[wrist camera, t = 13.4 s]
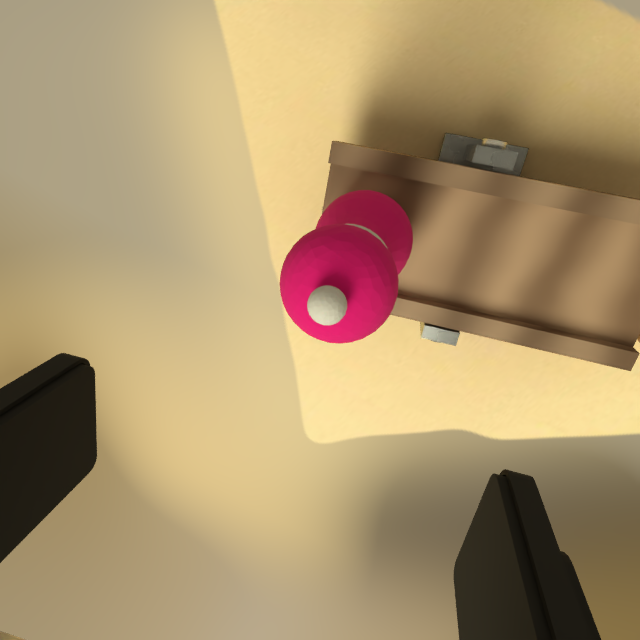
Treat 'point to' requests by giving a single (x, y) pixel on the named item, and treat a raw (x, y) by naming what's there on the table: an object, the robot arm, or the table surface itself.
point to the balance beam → (509, 253)
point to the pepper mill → (347, 268)
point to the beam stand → (483, 157)
